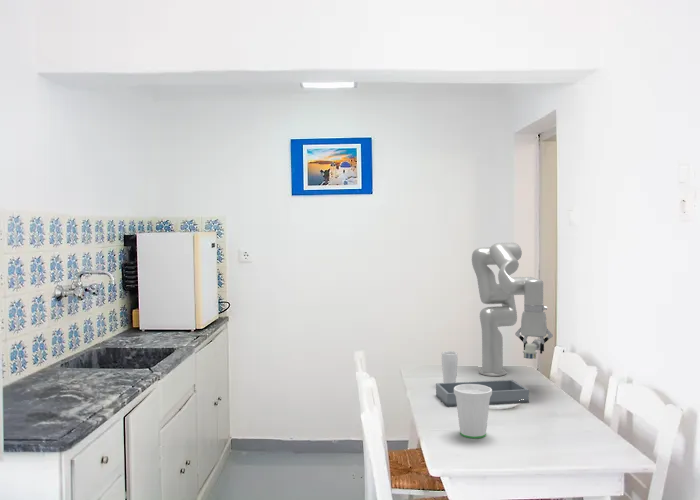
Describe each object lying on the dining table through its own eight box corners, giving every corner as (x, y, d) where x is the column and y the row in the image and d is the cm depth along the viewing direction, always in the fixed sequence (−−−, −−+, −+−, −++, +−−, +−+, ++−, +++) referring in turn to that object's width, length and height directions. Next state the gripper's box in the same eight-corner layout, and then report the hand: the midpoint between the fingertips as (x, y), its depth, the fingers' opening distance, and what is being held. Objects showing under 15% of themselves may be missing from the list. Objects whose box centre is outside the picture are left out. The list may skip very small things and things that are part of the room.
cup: (484, 443, 187) (484, 395, 187) (448, 436, 194) (447, 390, 193) (497, 431, 198) (497, 386, 197) (462, 425, 204) (461, 382, 204)
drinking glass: (440, 388, 253) (440, 353, 253) (443, 384, 260) (443, 350, 259) (455, 389, 251) (455, 354, 250) (459, 385, 257) (458, 351, 257)
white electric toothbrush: (545, 339, 253) (535, 342, 230) (544, 355, 252) (535, 359, 230) (532, 338, 255) (522, 341, 233) (532, 354, 254) (521, 358, 232)
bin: (436, 395, 242) (435, 383, 242) (512, 391, 246) (512, 379, 246) (447, 406, 226) (447, 393, 226) (528, 402, 231) (528, 389, 230)
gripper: (555, 308, 242) (555, 352, 243) (513, 307, 248) (513, 349, 249) (555, 310, 235) (555, 355, 236) (511, 309, 241) (511, 353, 242)
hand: (533, 352), depth 242 cm, fingers closed on white electric toothbrush, 5 cm apart
